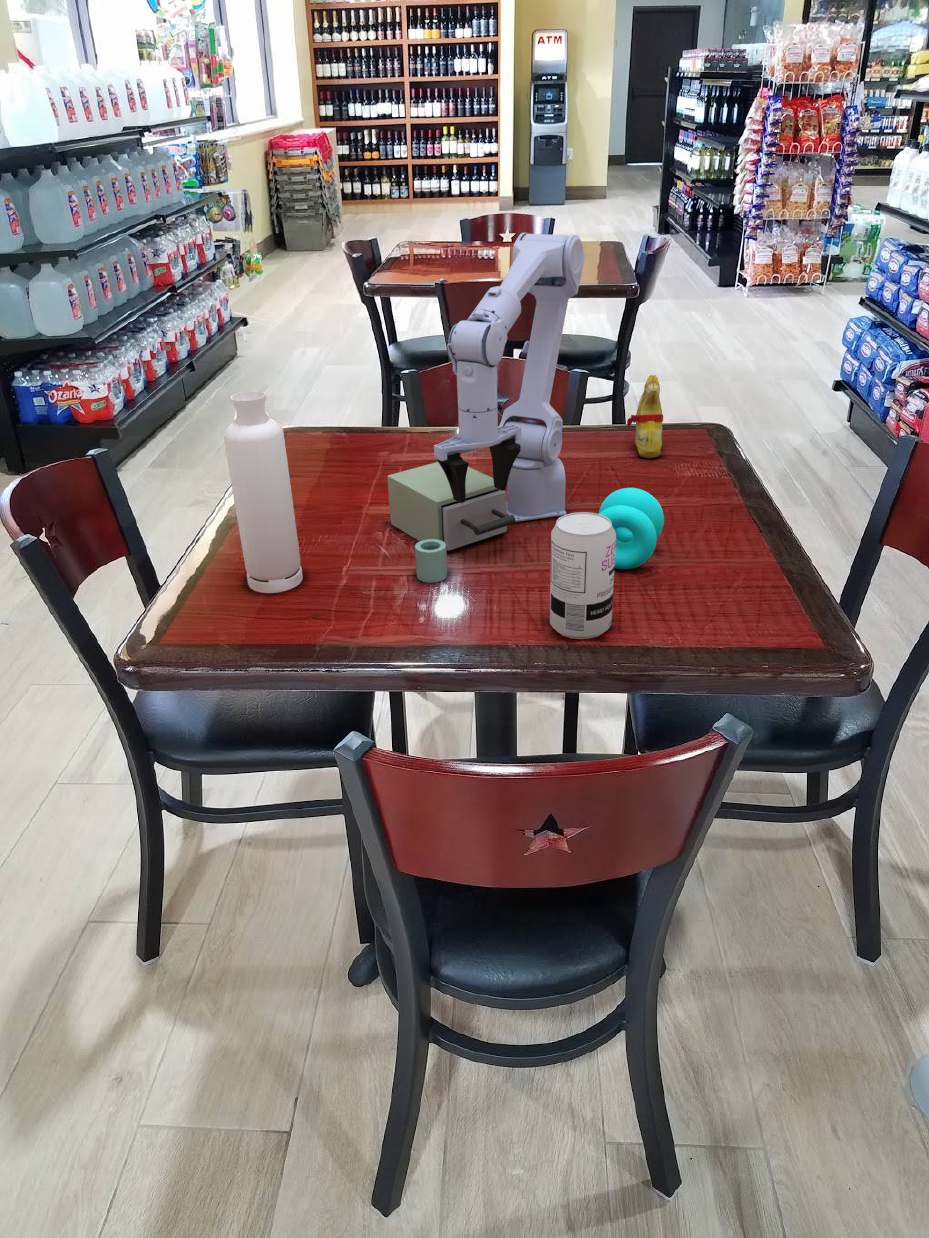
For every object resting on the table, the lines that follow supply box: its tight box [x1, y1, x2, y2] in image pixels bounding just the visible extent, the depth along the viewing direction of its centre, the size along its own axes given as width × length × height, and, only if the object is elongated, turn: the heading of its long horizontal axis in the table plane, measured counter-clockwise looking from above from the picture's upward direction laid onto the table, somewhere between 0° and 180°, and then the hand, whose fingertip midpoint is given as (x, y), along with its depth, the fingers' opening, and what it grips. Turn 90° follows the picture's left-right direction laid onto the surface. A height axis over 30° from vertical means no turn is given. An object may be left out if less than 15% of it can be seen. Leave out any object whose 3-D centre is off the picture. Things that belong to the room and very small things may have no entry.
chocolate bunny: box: [626, 374, 664, 459], centre depth 179 cm, size 7×11×15 cm, turn 176°
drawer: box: [442, 490, 516, 551], centre depth 148 cm, size 19×11×7 cm, turn 35°
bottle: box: [223, 390, 303, 594], centre depth 132 cm, size 8×8×28 cm
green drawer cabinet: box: [386, 461, 500, 552], centre depth 152 cm, size 15×13×9 cm
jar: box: [414, 539, 448, 584], centre depth 138 cm, size 4×5×5 cm
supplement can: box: [549, 511, 616, 640], centre depth 121 cm, size 8×8×15 cm
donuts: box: [598, 487, 665, 570], centre depth 140 cm, size 10×10×10 cm
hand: (479, 494), depth 141 cm, fingers open, 7 cm apart
